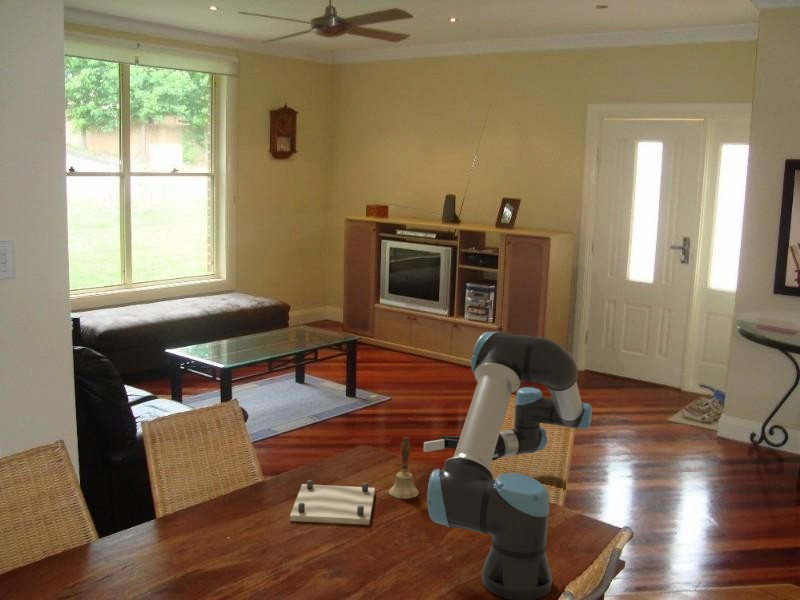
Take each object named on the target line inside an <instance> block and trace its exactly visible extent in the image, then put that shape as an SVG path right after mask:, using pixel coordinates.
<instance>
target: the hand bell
mask: <svg viewBox="0 0 800 600" xmlns="http://www.w3.org/2000/svg"><path fill="white" fill-rule="evenodd" d="M409 439H410V438H409V437H408V436H404V437H403V439H402V442H401V445H400V453H401V459H402V460H401V471H399V472H397V473H396V476H395V480H394V484H393V485H392V487H390V489H389V490H388V494H389V495H390V496H391V497H393V498H396V499H400V500H401V499H402V500H408V499H414V498H416V497H418V496H419V494H420V492H419V490H418V489H417V488H416V486H415V483H414V479H413V474H412V473H411V472H409V471H408V469H409V456H410V453H411V444H410V443H411V442H410V440H409Z"/></svg>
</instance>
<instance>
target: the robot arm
mask: <svg viewBox="0 0 800 600" xmlns="http://www.w3.org/2000/svg"><path fill="white" fill-rule="evenodd" d="M472 353H473V354H472V355H471V361H470V363H471V364H470V367H471V371H472V373H473V374H474V378H475V380H476V382H477V383H476V386H475V390H474V392H473V396H472V399H471V401H470V405H469V408H468V411H467V414H466V417H465V420H464V423H463V426H462V430H461V433H460V435H441V436H440V439H436V440H435V439H434V440H430V441H424V442H423V452H424V453H429V452H433V451H439V450H440V451H441V450H442V451H443V450H444V449H445V448H446V449H447V448H448V449H455V451H454V455H453V457H449V458H447V459H446V460H445V461H444V463H443V465H442V469H440V468H437V469H433V471H432V472H431V473H430V476H429V479H428V480H429V481H428V484H427V485H428V486H427V495H426V496H427V499H426V502H427V504H426V505H427V513H428V515H429V518H430V520H431V521H432V522H434V523H436V524H439V525H442V526H446V527H447V528H456V529H460V530H466V531H470V532H476V533H481V534H487V535H489V536H491V547H490V550H489V551H488V554H487V557H486V559H485V561H484V564H483V566H482V570H481V583H482V585H483V587H484V588H486V590H487V591H488V592H490V593H492V594H493V595H495V596H498V597H500V598H504V599H507V600H539V599H542V598H544V597H546V596H547V595H548V594H550V592H551V590H552V583H553V582H552V581H553V579H552V578H553V576H552V572H551V569H550V565H549V561H548V557H547V554H546V551H547V549H546V548H547V538H548V537H547V536H548V524H549V514H550V511H551V509H550V495H549V492H548V491H549V490H548V489H547V488H546V486H544V485H543V484H542V482H540V481H538V480H537V479H534V478H533V477H531V476H527V475H524V474H521V473H509V472H507V473H502V474H499V475H498V476H497V477H496V478H495V479H494V474H493V472H492V470H491V469H490V467H491V464H492V461H496V460H499V459H502V458H506V459H507V458H509V457H513V456H517V455H518V456H519V455H524V454H532V453H537V452H540V451H543V450H544V449H545V448H546V446H547V445H548V444H547V443H548V436H547V432H546V430H545V428H544V427H543V426H541V424H546V425H550V426H551V425H553V426H558V427H559V426H560V427H565V428H571V429H576V430H589V428H590V427H591V423H592V417H593V406H592V405H591V404H590V403H585V402H583V401H582V398H581V394H580V389H579V385H578V381H577V380H578V377H579V370H578V369H579V368H578V366H577V362H576V361H575V360H574V358H573V356H572V354H570V353H569V352H568V350H566V349H565V348H564V347H562V346H561V345H560V344H558V342H555V341H554V340H551V339H549V338H546V337H543V336H536V335H535V336H533V335H526V334H516V333H508V332H504V331H503V332H502V331H486V332H484V333H482V334H480V336H479V337H478V338H477V340H476V342H475V344H474V347H473V350H472ZM521 382H524V383H526V382H527V383H533V384H540V385H541V384H542V385H544V386H545V388H547V389H548V391H549V394H550V397H543V392H542V391H541V390H540V389H539V388H535V387H532V386H531V387H530V386H528V387H520V386H521ZM515 392H516V394H515V395H516V396H515V403H514V406H515V407H514V423H513V428H512V429H505V430H502V426H503V423H504V419H505V416H506V413H507V410H508V409H507V408H508V406H509V403H510V398H511V396H512V395H511V394H512V393H515Z"/></svg>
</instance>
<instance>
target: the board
mask: <svg viewBox="0 0 800 600" xmlns="http://www.w3.org/2000/svg"><path fill="white" fill-rule="evenodd" d="M375 490H376V488H375V487H370V486H369V483H368V482H362V484H361V486H348V485H347V486H346V485H345V486H344V485H331V484H330V485H329V484H328V485H327V484H324V485H323V484H314V481H313V480H312V479H308V480H306V483H302V484H301V486H300V488H299V491H298V493H297V496H296V499H295V501H294V504H293V506H292V509H291V511H290V514H289V521H290V522H304V523H305V522H306V523H308V522H309V523H323V524H324V523H326V524H343V525H347V524H348V525H361V526H363V525H364V526H369V525H370V524H371V523H370V522H371V518H372V517H371V516H372V510H373V506H374V505H373V504H374V498H375V493H376V492H375Z"/></svg>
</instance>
